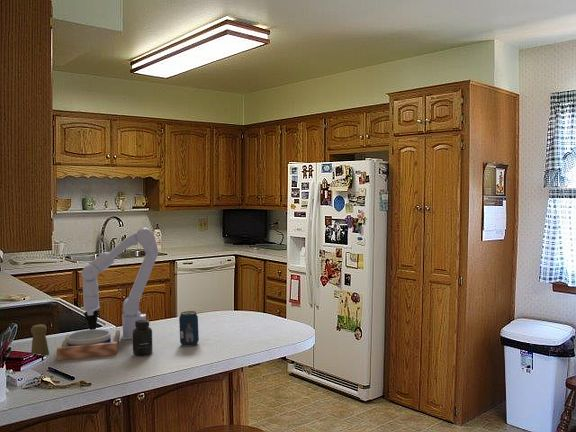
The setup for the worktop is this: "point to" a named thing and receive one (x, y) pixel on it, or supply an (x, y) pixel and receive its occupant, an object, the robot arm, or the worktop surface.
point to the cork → (39, 340)
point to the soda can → (188, 328)
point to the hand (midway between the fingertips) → (92, 329)
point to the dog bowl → (89, 337)
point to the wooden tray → (88, 349)
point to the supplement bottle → (142, 338)
